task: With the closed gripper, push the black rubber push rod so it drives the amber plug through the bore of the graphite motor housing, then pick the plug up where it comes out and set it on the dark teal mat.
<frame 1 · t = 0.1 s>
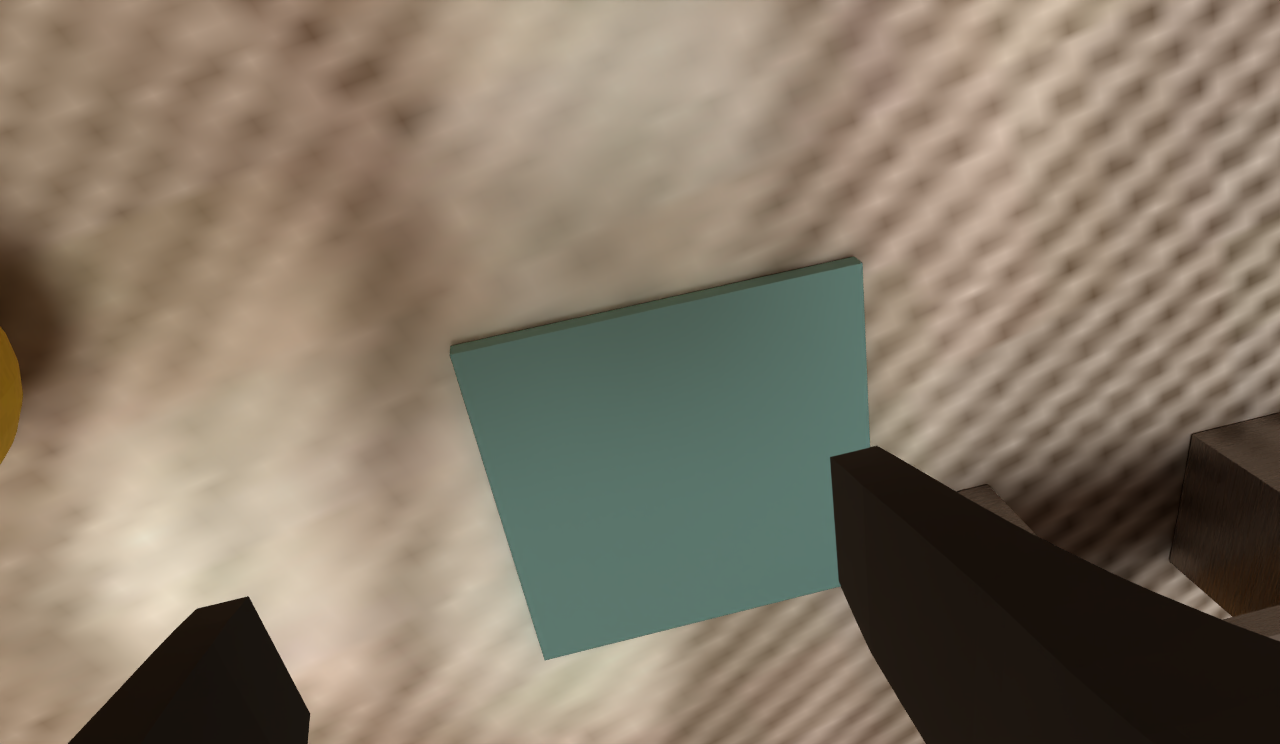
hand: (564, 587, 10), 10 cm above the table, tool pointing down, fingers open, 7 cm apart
housing: (1083, 525, 25), on the table
mat: (684, 469, 22), on the table
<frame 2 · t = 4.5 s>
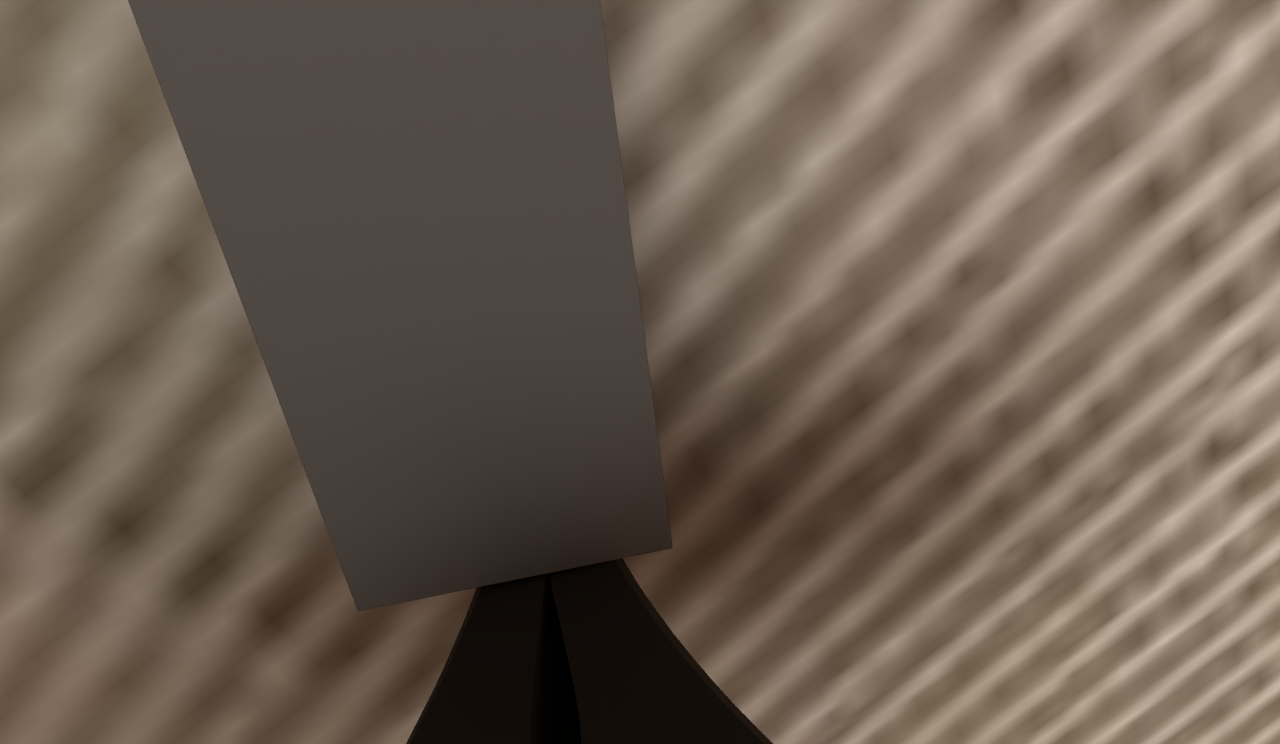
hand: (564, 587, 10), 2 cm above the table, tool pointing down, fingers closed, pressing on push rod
push rod: (420, 1, 9), on the table, touching gripper
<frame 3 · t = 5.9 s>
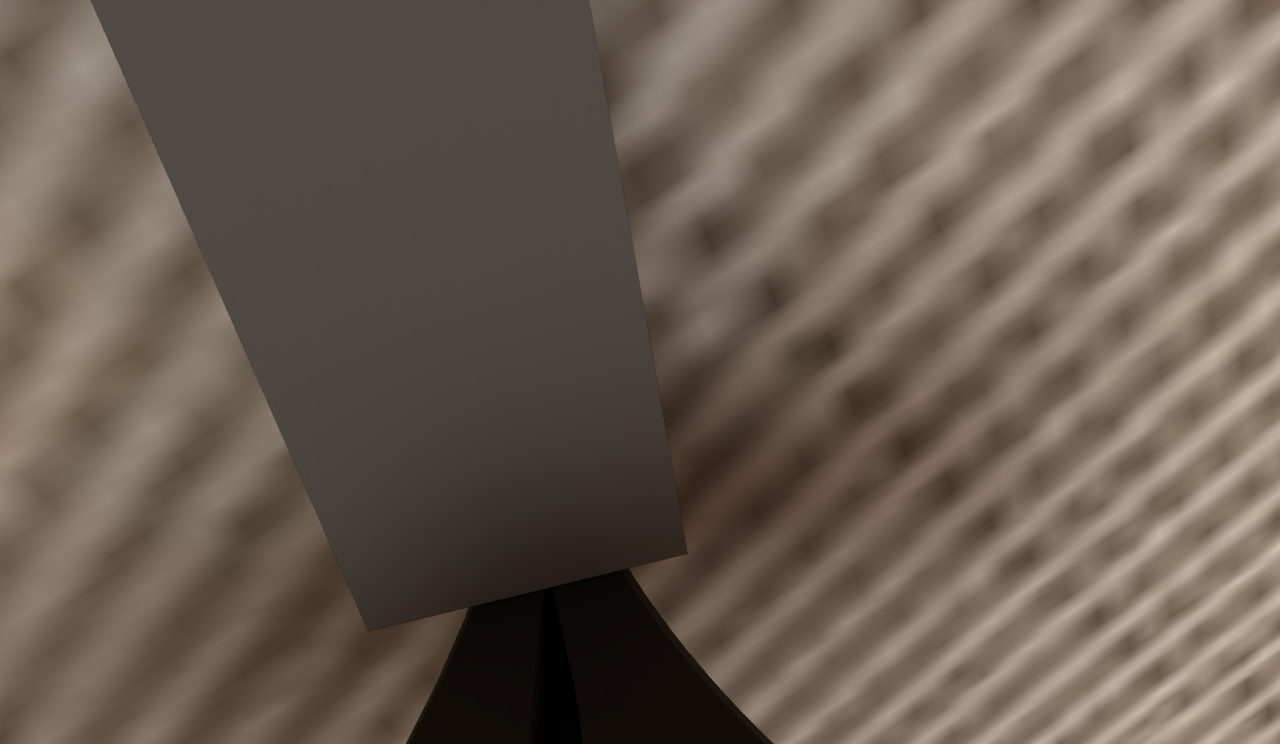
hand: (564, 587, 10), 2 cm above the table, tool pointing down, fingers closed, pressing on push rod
push rod: (404, 3, 9), on the table, touching gripper, plug
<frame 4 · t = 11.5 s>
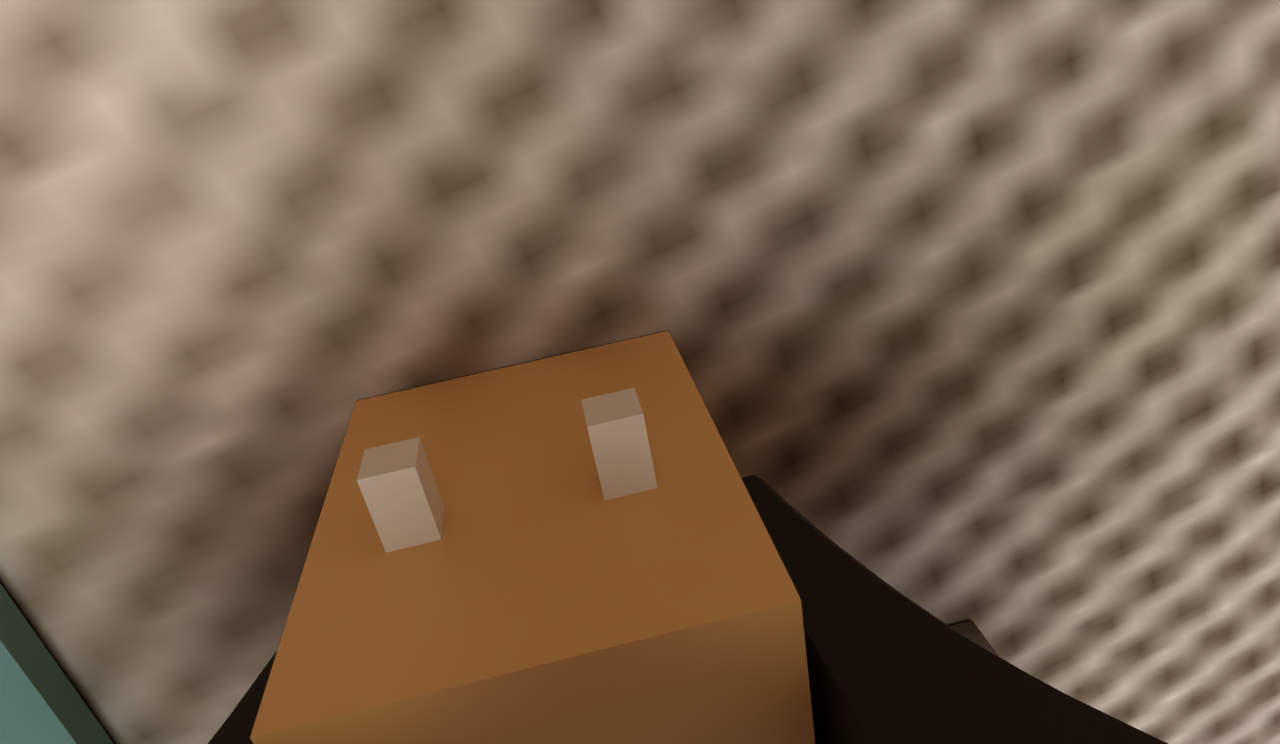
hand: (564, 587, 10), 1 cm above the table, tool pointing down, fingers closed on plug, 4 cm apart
plug: (548, 492, 11), on the table, touching gripper
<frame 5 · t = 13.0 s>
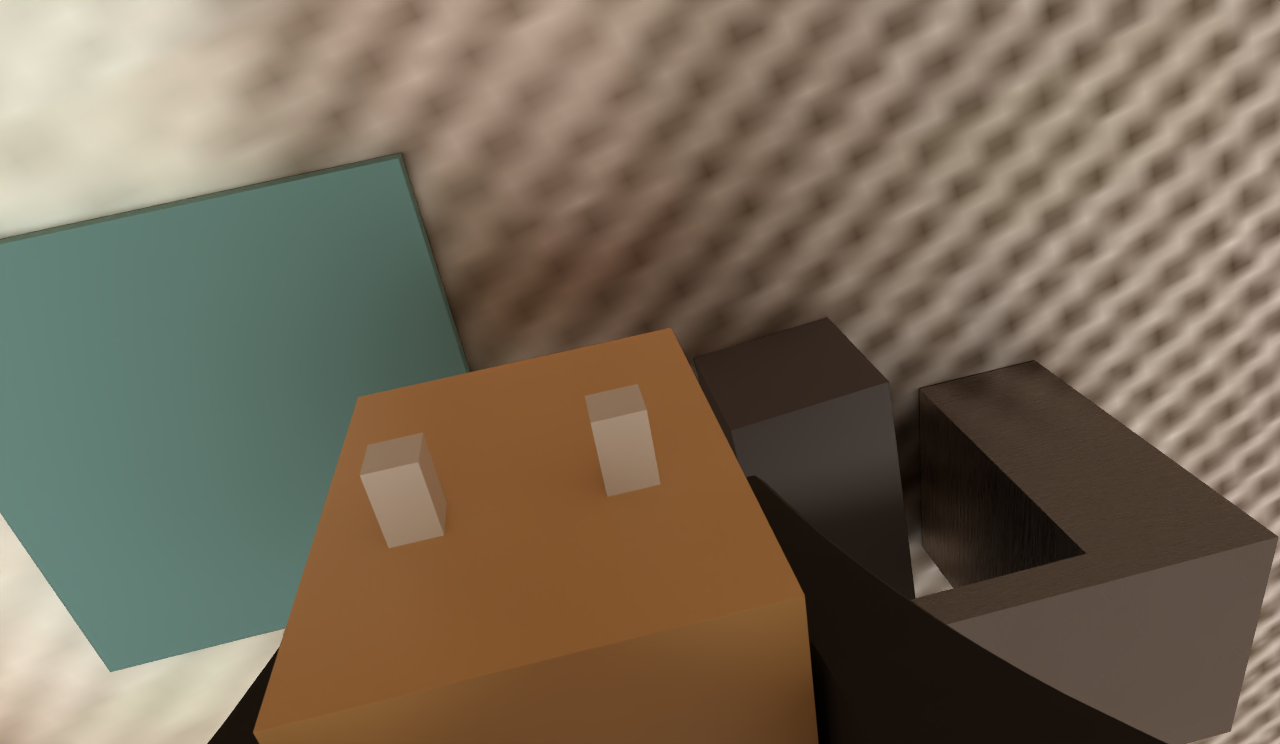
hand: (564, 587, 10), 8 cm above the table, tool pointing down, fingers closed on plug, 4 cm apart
plug: (550, 489, 11), point 7 cm above the table, touching gripper
push rod: (793, 508, 21), on the table
housing: (800, 502, 21), on the table
mat: (243, 433, 17), on the table
when the fingers open (3 cm above the table, at t = 14.9 s): plug stays where it is, resting on mat.
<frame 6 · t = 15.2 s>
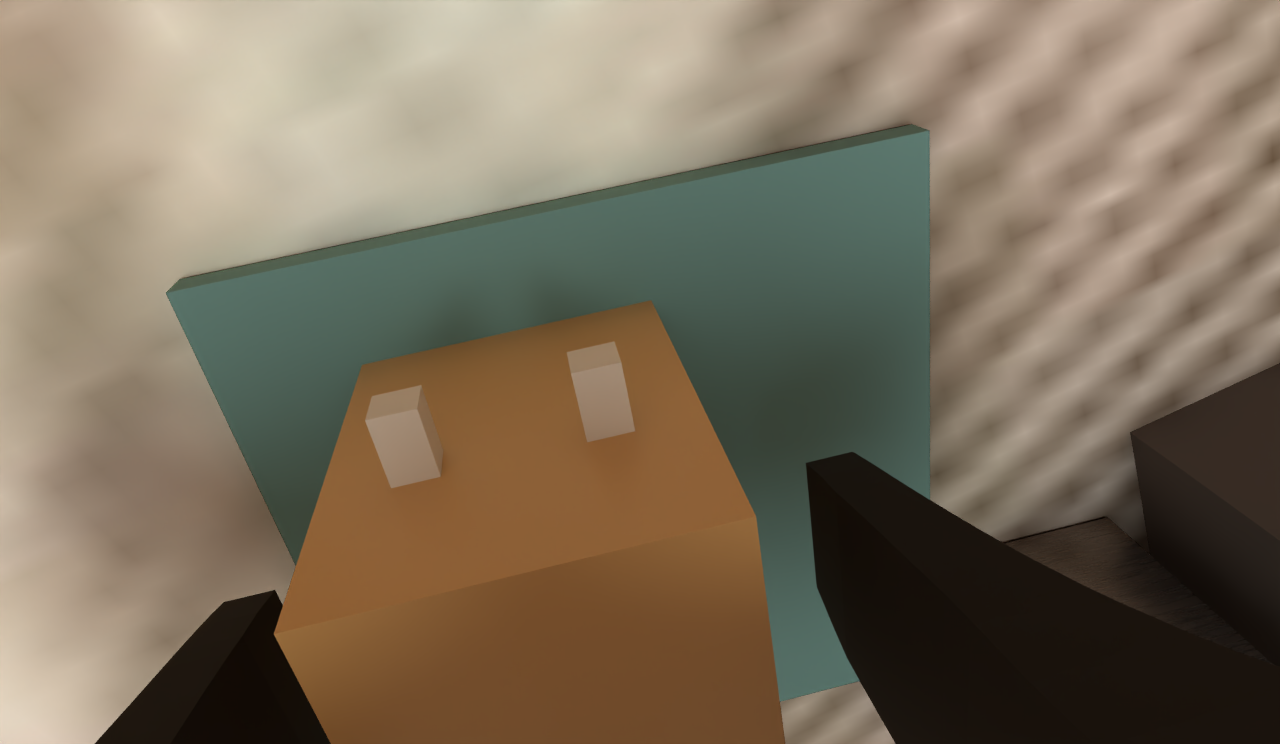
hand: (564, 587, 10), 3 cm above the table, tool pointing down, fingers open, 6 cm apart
plug: (541, 453, 12), resting on mat
push rod: (1224, 582, 17), on the table
housing: (1243, 576, 17), on the table
mat: (623, 498, 13), on the table
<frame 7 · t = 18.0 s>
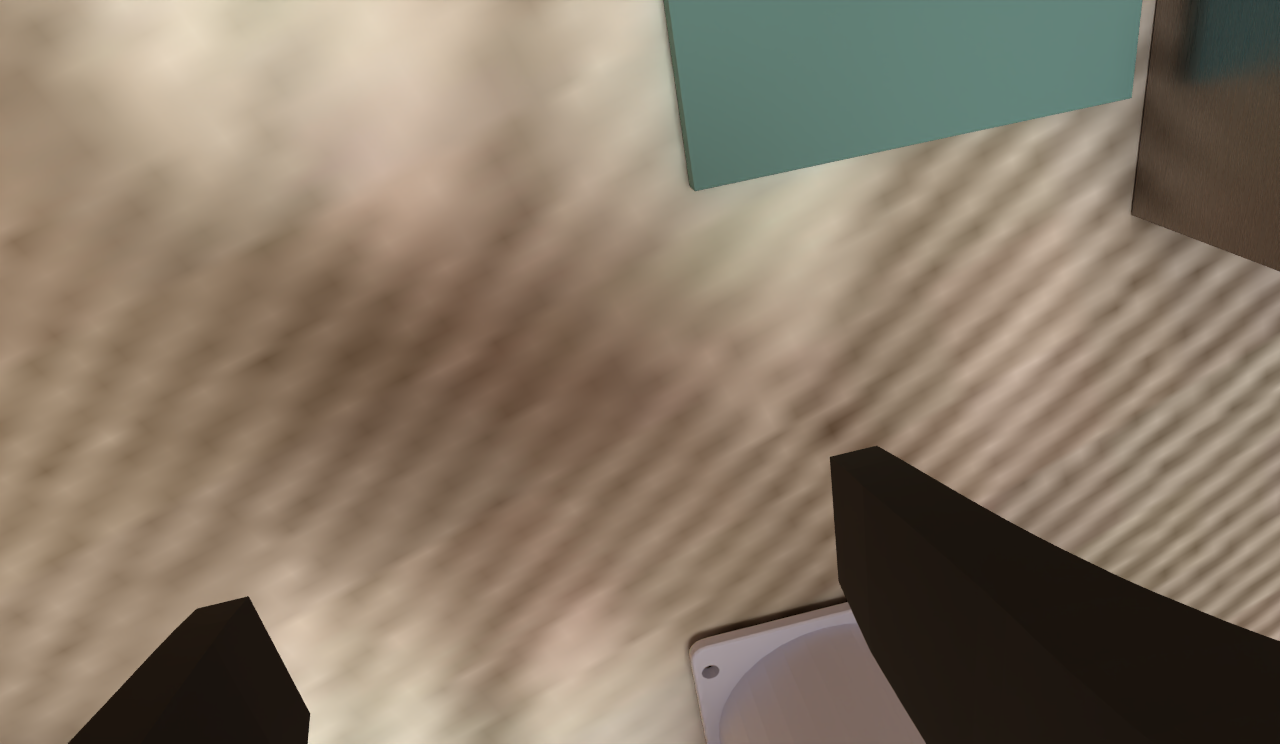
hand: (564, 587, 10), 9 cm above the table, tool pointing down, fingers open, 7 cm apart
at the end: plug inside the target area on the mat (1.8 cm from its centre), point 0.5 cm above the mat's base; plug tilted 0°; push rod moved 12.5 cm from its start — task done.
